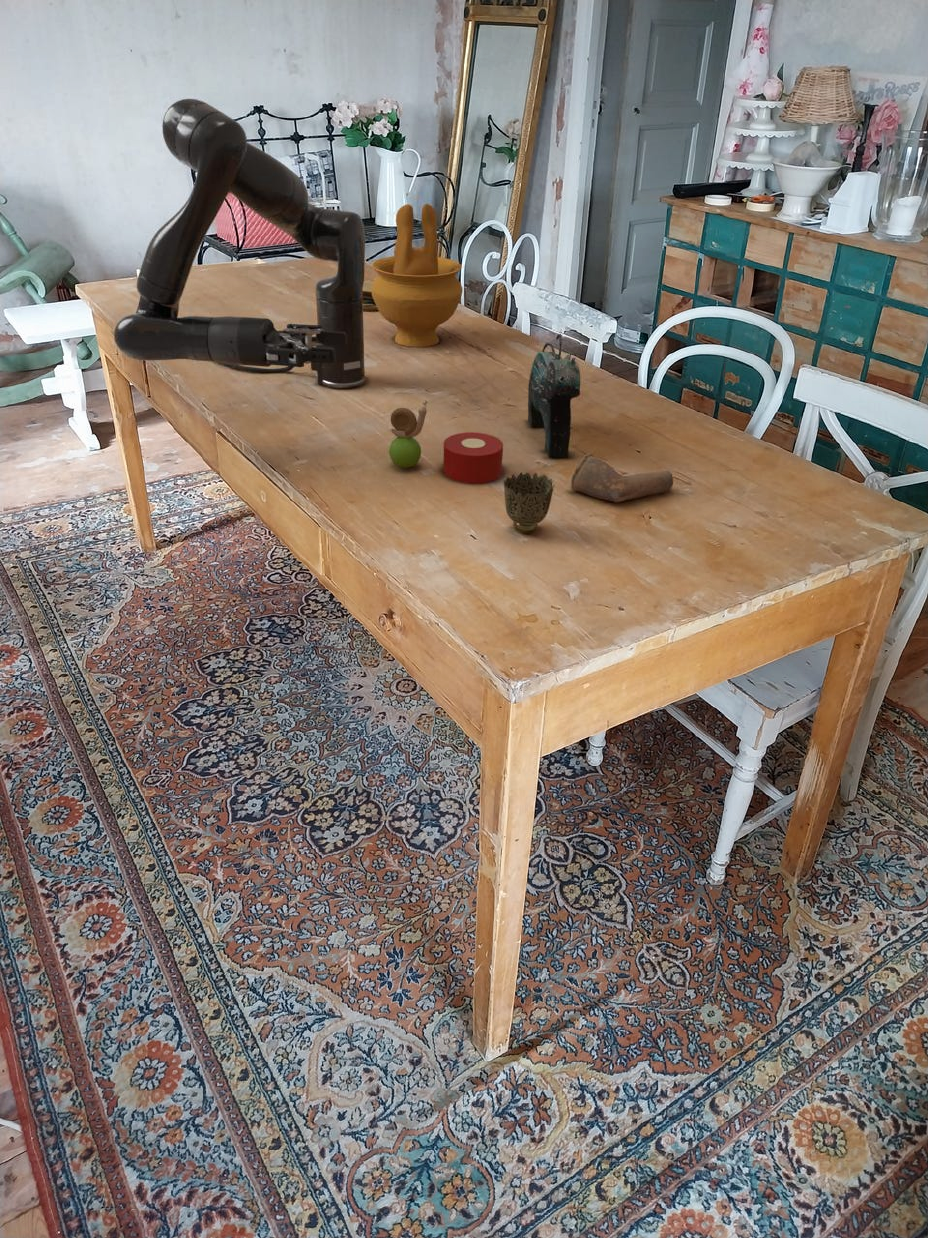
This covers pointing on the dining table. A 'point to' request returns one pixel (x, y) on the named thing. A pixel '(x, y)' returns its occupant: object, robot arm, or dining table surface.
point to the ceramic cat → (553, 398)
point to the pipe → (617, 481)
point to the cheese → (472, 457)
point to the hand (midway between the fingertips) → (340, 347)
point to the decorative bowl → (416, 282)
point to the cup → (527, 500)
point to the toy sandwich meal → (368, 297)
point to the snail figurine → (406, 436)
